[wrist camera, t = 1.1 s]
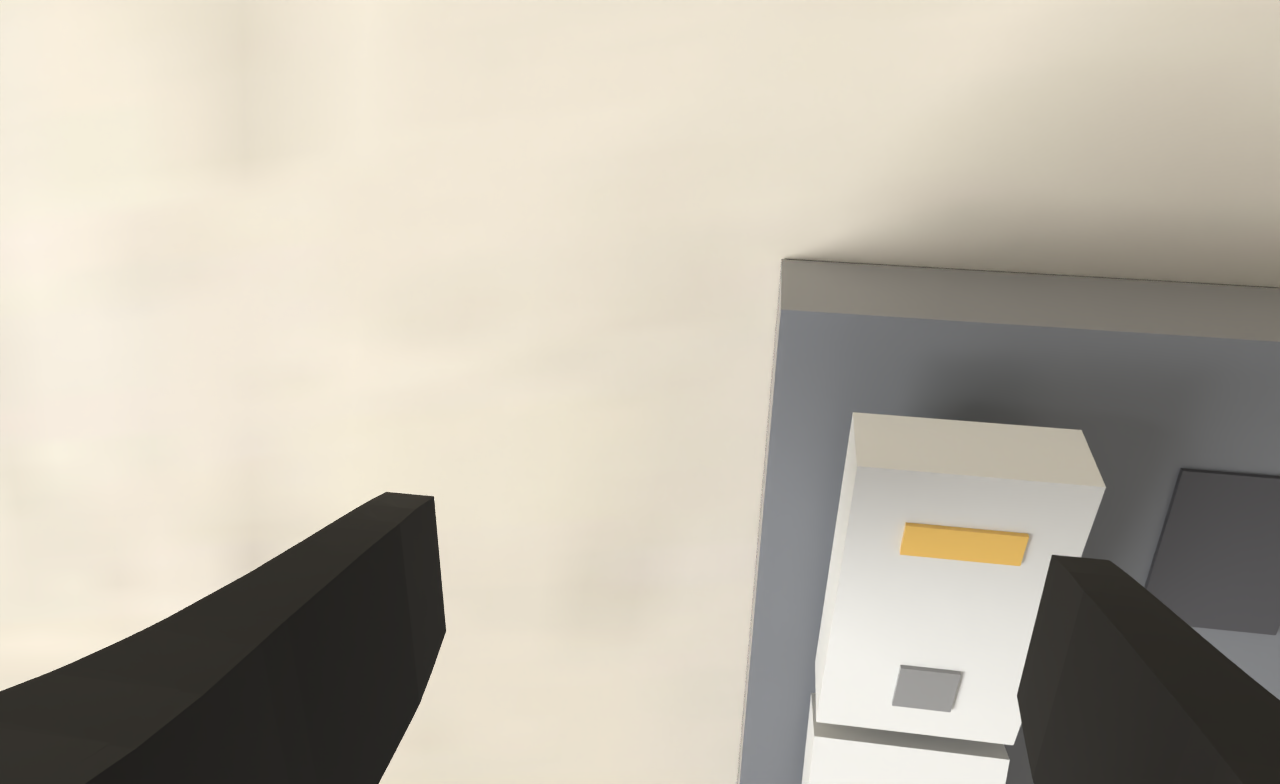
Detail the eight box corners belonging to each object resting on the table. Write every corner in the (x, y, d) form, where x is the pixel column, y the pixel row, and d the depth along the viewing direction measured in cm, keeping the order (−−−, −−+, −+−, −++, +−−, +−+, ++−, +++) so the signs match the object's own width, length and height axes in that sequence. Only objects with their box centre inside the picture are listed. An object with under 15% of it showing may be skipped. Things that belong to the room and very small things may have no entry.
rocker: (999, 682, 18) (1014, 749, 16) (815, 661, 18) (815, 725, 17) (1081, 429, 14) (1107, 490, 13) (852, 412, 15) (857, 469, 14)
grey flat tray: (1069, 1021, 26) (1103, 1145, 24) (721, 967, 28) (713, 1080, 25) (1324, 290, 17) (1428, 353, 14) (781, 259, 18) (780, 311, 16)
